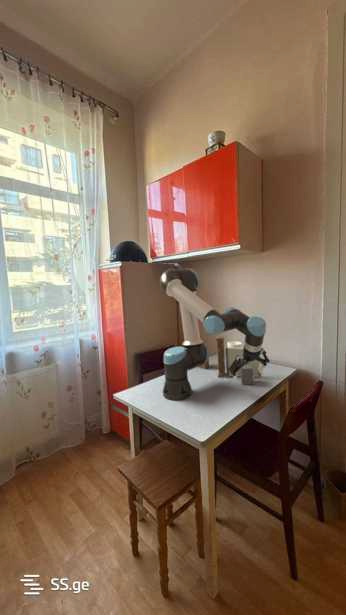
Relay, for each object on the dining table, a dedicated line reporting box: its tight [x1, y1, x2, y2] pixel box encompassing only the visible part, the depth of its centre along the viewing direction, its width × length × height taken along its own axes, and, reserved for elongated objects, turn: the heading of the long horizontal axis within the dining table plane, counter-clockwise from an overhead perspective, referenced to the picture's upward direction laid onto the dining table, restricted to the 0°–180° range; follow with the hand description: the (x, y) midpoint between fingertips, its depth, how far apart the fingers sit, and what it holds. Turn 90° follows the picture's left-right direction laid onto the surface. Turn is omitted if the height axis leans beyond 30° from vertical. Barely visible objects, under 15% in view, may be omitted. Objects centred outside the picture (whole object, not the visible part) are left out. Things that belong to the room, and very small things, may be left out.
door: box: [225, 347, 262, 377], centre depth 144 cm, size 19×2×16 cm, turn 77°
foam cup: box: [227, 340, 243, 348], centre depth 172 cm, size 10×9×13 cm
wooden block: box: [199, 347, 210, 370], centre depth 165 cm, size 4×11×18 cm, turn 38°
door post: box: [215, 336, 228, 379], centre depth 147 cm, size 5×5×23 cm
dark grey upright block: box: [240, 365, 254, 386], centre depth 136 cm, size 6×6×9 cm
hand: (247, 374), depth 124 cm, fingers open, 13 cm apart
